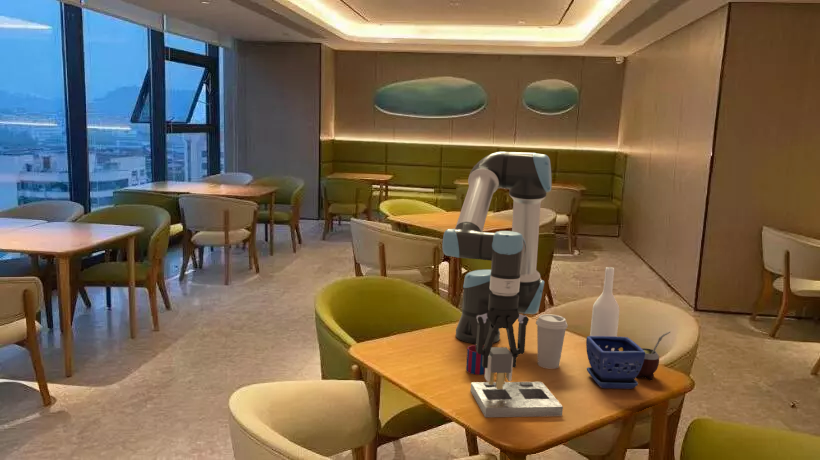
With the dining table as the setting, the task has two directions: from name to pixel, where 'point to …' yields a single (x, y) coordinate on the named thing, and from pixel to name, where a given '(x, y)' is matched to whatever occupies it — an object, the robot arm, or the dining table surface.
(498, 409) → the socket
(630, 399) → the dining table surface
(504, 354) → the plug
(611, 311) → the bottle
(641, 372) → the mate gourd
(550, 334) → the coffee cup
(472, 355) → the cup
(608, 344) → the flower pot
